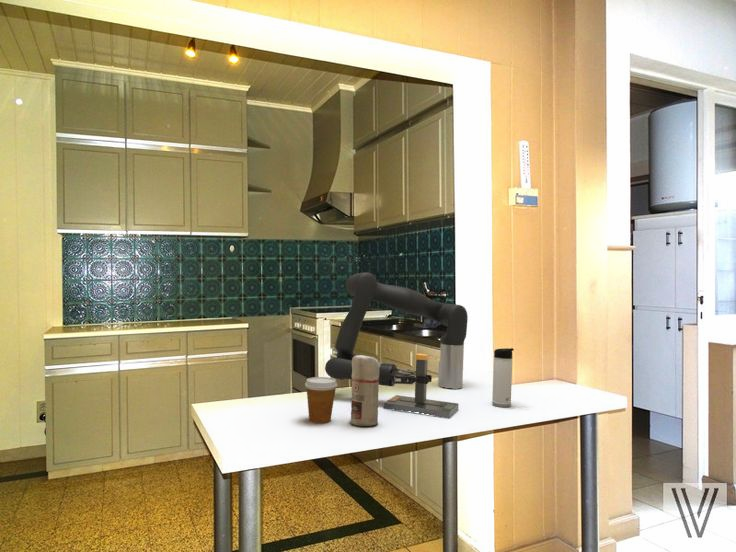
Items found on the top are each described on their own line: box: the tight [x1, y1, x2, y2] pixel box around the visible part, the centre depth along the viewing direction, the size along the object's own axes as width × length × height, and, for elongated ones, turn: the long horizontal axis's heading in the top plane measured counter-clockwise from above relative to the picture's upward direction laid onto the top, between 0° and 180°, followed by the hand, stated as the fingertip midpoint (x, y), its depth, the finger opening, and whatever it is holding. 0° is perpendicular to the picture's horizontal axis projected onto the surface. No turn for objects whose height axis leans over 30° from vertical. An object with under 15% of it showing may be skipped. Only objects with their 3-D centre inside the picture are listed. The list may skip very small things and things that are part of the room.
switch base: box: [383, 394, 460, 419], centre depth 163 cm, size 22×12×2 cm, turn 66°
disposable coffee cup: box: [304, 376, 338, 424], centre depth 146 cm, size 10×10×12 cm
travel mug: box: [491, 347, 514, 409], centre depth 171 cm, size 6×7×20 cm
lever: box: [414, 353, 429, 403], centre depth 163 cm, size 3×3×16 cm
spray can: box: [349, 354, 380, 427], centre depth 144 cm, size 8×8×20 cm
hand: (429, 379), depth 162 cm, fingers closed on lever, 3 cm apart
